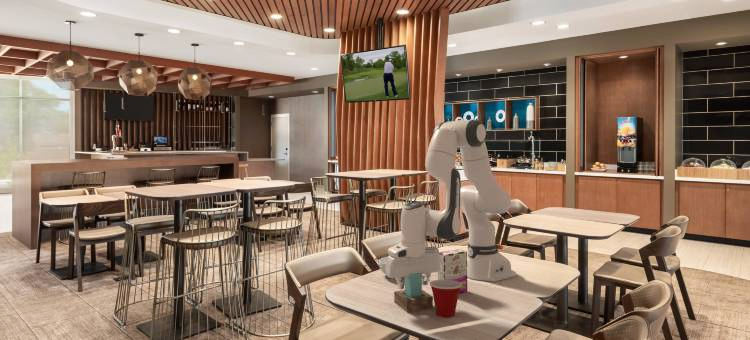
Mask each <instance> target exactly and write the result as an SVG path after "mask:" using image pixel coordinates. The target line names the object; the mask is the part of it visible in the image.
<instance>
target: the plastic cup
mask: <svg viewBox="0 0 750 340" xmlns="http://www.w3.org/2000/svg"><path fill="white" fill-rule="evenodd" d="M429 285H430V288H431V290H432V291H431V292H432V296H433V304H434V308H435V313H436V316H437V317H439V318H443V319H446V318H447V319H449V318H453V317H455V315H456V311H457V310H456V309H457V305H458V298H459V290H460V287H461V286H462V284H461V283H460V282H457V281H453V280H438V279H436V280H432V281H430V282H429Z"/></svg>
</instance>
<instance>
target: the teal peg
mask: <svg viewBox="0 0 750 340" xmlns="http://www.w3.org/2000/svg"><path fill="white" fill-rule="evenodd" d="M422 280H423V274H422V273H417V274H410V276H405V278H404V290H405V295H406V296H407V297H408V298H414V297H420V296H422V290H423V285H422Z"/></svg>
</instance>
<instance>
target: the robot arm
mask: <svg viewBox="0 0 750 340" xmlns="http://www.w3.org/2000/svg"><path fill="white" fill-rule="evenodd" d="M484 124H485V123H483V122H482V121H481V120H478V119H457V120H453V121H443V122H440V123H437V124H436V125H435V127H434V129H433V131H432V137H431V139H430V142H429V144H428V148H427V152H426V157H425V161H424V166H425V169H426V171H427V173H428V174H429V175H430V176H431V177H432V178H434V179H436V180H438V181H440V182H442V183H443V184H444V186H445V188H446V194H445V195H446V196H445V208H444V210H436V209H429V208H427V207H425V205H424V204H423V203H422V202H419V201H411V202H408V203H405V204H404V205H403V206H402V208H401V213H400V214H401V215H400V231H401V236H400V242H398V243H397V244H394V245H392V246H391V247H389V248H388V249H387V253H388V256H386V257H387V260H386V274H385V275H386V276H387V277H388V278H390V279H395V281H396V283H397V286H398V289H399V290H405V283H403V282H401V280H402V278H401V277H405V276H410V274H417V273H422V275H423V274H424V275H425V276H424V277H423V278H422V286H428V284H429V283H428V281H429V280H430V277H432V276H431V275H432V274H433V273H438V271H439V269H440V263H439V257H438V256H439V252H440V249H439V248H438V247H436V246H435V245H434V246H426V245H427V244H426V241H427V240H426V236H427V237H431V238H432V237H433V238H438V239H441V240H445V241H452V240H453V239H454V238H456V237H457V236H458V235H459V233H460V231H461V226H462V225H461V223H462V222H461V212H460V211H461V210H462V212H463V214H464V216H465V218H466V221H467V225H468V242H467V278H469V279H472V280H477V281H485V282H487V281H488V282H493V283H495V282H500V281H503V280H506V279H511V278H514V277H517V272H516V271H515V270H513V269H512V264H511V261H510V260H509V258H507V257H505V256H504V255H503V254H501V253H500V252H499V250H500V251H502V250H503V249H504V246H503V245H502V244H497V243H496V226H495V224H494V223H493V222H492V221H491V220H490V219H489V217H488V216H487V214H492V215H499V214H505V213H506V212H508V211H509V209H510V207H511V203H512V199H511V195H510V194H509V192H508V191H506V190H505V189H504V188H503V187H502V186H501V185H500V184H499V183H498V181H497V179H496V177H495V176H494V174H493V172H492V168H491V167H492V166H491V162H490V158H489V153H488V152H489V151H488V149H487V145H486V137H487V129H486V126H485V125H484ZM458 149H460V157H461V163H462V169H463V175H464V177H465V178H466V179H467V180H468V182H471V183H472V185H471V184H470V185H464V186H461V183H462V181H461V173H460V171H459V170H458V169H457V168H456V159H457V153H458Z"/></svg>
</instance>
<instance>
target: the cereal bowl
mask: <svg viewBox="0 0 750 340" xmlns="http://www.w3.org/2000/svg"><path fill="white" fill-rule="evenodd" d="M387 257H388V256H384V257H381V258H379V260H378V265H379V269H380V271H381V272H382V273H383V274H384V275H386V260H387ZM401 279H405V277H401Z"/></svg>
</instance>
